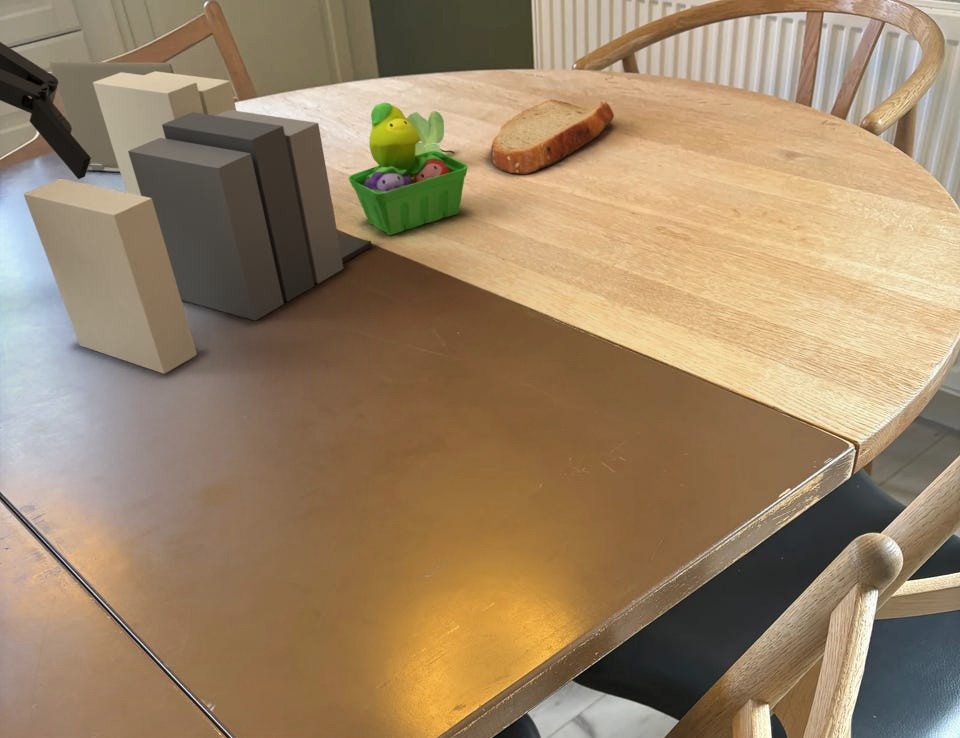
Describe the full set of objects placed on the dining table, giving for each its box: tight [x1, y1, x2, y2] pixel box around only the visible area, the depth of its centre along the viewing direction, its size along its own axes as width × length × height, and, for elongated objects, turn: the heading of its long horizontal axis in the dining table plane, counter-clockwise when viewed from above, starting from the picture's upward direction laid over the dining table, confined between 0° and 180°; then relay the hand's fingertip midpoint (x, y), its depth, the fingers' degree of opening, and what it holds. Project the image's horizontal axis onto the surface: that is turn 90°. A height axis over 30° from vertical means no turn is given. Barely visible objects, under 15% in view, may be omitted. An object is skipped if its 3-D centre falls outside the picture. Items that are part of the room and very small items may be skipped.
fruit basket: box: [348, 102, 469, 236], centre depth 109 cm, size 11×9×11 cm
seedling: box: [406, 110, 455, 155], centre depth 126 cm, size 7×8×7 cm
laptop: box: [48, 61, 175, 173], centre depth 131 cm, size 18×12×13 cm
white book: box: [23, 178, 198, 375], centre depth 89 cm, size 4×12×14 cm, turn 55°
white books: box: [93, 71, 237, 196], centre depth 115 cm, size 14×12×15 cm
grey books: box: [128, 110, 373, 322], centre depth 100 cm, size 19×12×15 cm, turn 145°
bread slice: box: [490, 99, 615, 175], centre depth 126 cm, size 18×18×4 cm
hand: (24, 194), depth 90 cm, fingers open, 13 cm apart
